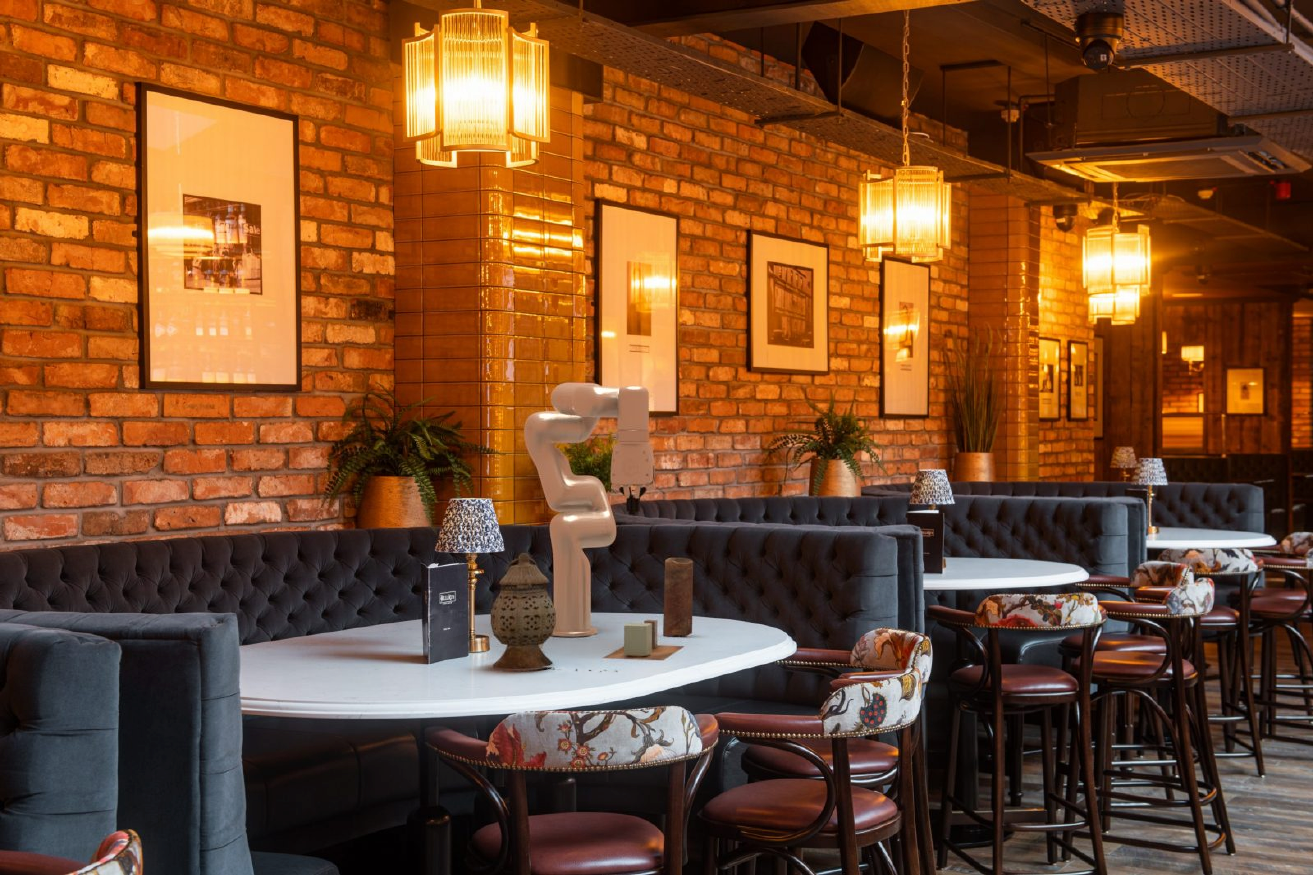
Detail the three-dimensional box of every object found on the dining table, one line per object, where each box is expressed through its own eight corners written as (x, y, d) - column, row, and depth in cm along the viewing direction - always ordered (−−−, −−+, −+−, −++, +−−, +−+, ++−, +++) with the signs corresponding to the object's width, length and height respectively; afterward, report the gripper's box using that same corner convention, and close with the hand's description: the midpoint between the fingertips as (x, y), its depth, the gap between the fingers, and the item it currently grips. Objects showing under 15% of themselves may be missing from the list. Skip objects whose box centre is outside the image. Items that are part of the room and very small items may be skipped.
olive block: (624, 654, 310) (624, 625, 311) (629, 651, 316) (629, 622, 316) (646, 655, 309) (646, 626, 309) (651, 652, 314) (651, 623, 314)
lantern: (478, 669, 298) (478, 554, 299) (512, 660, 311) (511, 549, 312) (535, 673, 293) (535, 556, 293) (566, 664, 306) (566, 551, 306)
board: (602, 661, 309) (602, 657, 309) (627, 647, 331) (627, 644, 331) (663, 663, 306) (663, 660, 306) (684, 649, 327) (684, 646, 327)
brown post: (644, 648, 323) (644, 621, 323) (646, 647, 326) (646, 619, 326) (654, 649, 323) (654, 621, 323) (657, 647, 325) (657, 620, 325)
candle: (694, 635, 351) (694, 557, 352) (692, 639, 344) (691, 559, 344) (664, 635, 352) (664, 557, 352) (661, 639, 345) (661, 559, 345)
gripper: (598, 438, 327) (598, 515, 327) (660, 437, 323) (660, 516, 323) (607, 438, 334) (607, 513, 334) (667, 438, 330) (667, 514, 330)
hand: (633, 514), depth 328 cm, fingers closed
